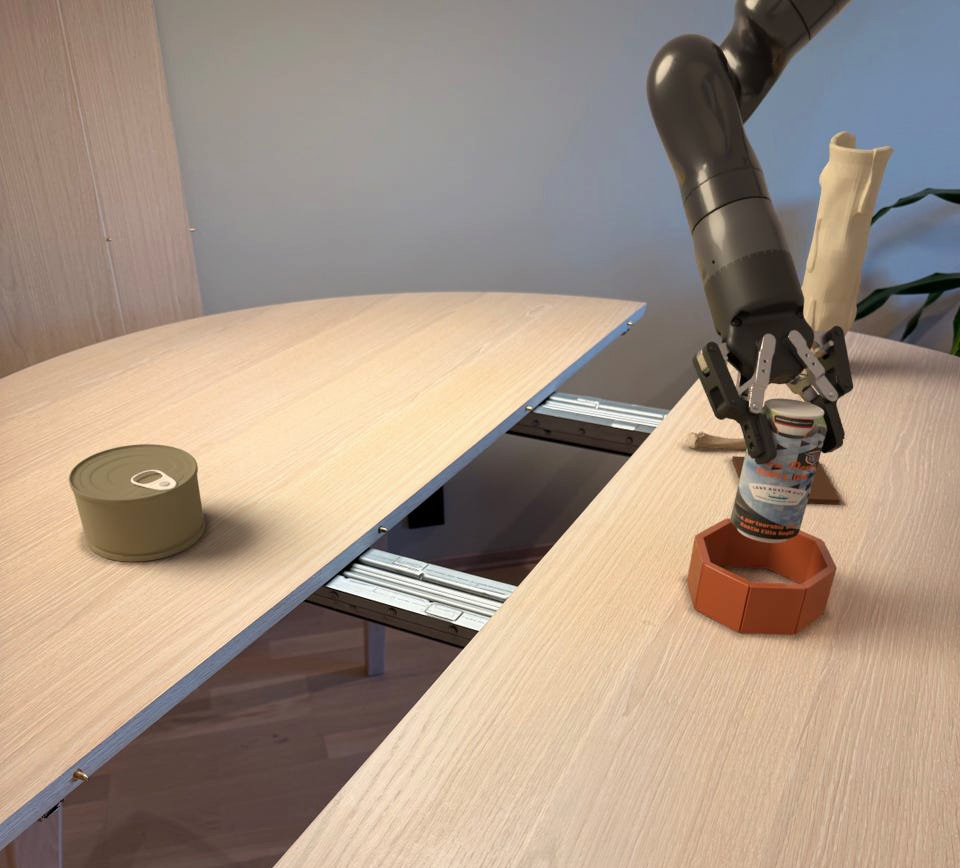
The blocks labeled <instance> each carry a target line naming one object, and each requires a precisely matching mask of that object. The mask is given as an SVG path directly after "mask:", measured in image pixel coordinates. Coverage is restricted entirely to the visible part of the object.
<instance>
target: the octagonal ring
mask: <svg viewBox="0 0 960 868" xmlns="http://www.w3.org/2000/svg"><path fill="white" fill-rule="evenodd" d="M693 538H694V539H693V544H692V550H691V556H690V561H689V567H688V572H687V579H686V582H687V585H688V589H689V594H690V598H691V601H692V605H693V606H692V607H693V609H694V610H695V611H696V612H698V613H700V614H702V615H704V616H705V617H708V618H710V619H712V620H714V621H716V622H718V623H719V624H721V625H723V626H725V627H727V628H729V629H731V630H733V631H734V632H736V633H740V634H751V635H752V634H755V635H756V634H757V635H780V636H781V635H783V636H794V635H797V634H799V633H800V632H801V631H803V630H804V629H806V628H807V627H808V626H810V625H811V624H812V623H814V622H816V621H817V620H818V619H820V618H821V617H823V616H824V614H825V612H826V608H827V604H828V602H829V601H828V600H829V598H830V595H831V589H832V587H833V582H834V579H835V576H836V572H837V567H838V566H837V565H836V564H835V561H834V559H833V557H832V554H831V553H830V550H829V549H828V547H827V544H826V543H825V541H824V540H823V539H822V538H819V537H817V536H815V535H813V534H810V533H807V532H805V531H803V530H801V529H800V531H799V533H798V535H796V536H795V537H793V538H789V539H787V540H786V541H784V542H780V543H767V542H760V541H756V540H753V539H750V538H748V537H746V536H744V535H742V534H741V533H740V532H739V531H738V529H737V528H736V527H735V526H734V525H733V524H732V522H731V517H730V518H724V519H722V520H720V521H718V522H716V523H715V524H713V525H711V526H709V527H708V528H706V529H704V530H702V531H700V532H699V533H697V534H695V536H694V537H693ZM723 567H726V568H755V569H768V570H769V571H770V572H771V571H772V572H773V573H776V574H778V575H780V576H782V577H784V578H787V579H788V580H790V581H793V582H795V583H785V582H755V581H751V580H749V579H747V578H744V577H742V576H740V575H738V574H736V573H734V572H732V571H730V570H727V569H725V568H723Z"/></svg>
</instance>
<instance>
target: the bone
mask: <svg viewBox="0 0 960 868" xmlns="http://www.w3.org/2000/svg"><path fill="white" fill-rule="evenodd" d="M685 444H686V446H687V447H688V448H689V449H699V448H711V449H717V448H718V449H724V450H725V449H726V450H747V446H746V442H745V440H744V437H742V438H731V437H729V438H728V437H721V436H719V435H718V436H717V435H712V434H709V433H706V432H704V431H700V432H698V433H696V432H693V431H691V432H689V433H688V434H687V435H686V439H685Z"/></svg>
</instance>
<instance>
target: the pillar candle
mask: <svg viewBox="0 0 960 868" xmlns="http://www.w3.org/2000/svg"><path fill="white" fill-rule="evenodd" d="M893 153H894V148H893V147H892V146H889V145H885V146H881V147H874V148H873V149H858V148H857V136H856V135H855V134H852V133H850V132H849V131H846V130H843V131H839V132H838V133H835V135H833V136H832V137H831V139H830V142H829V157H828V158H829V159H828V162H827V163H826V164H825V166H824V167H823V169H822V171H821V172H820V175H819V178H818V182H819V183H818V184H819V186H820V189H821V190H820V197H819V204H818V207H817V213H816V220H815V224H814V231H813V235H812V240H811V245H810V248H809V252H808V256H807V260H806V265H805V272H804V277H803V281H802V285H801V289H802V292H803V295H804V311H803V313H804V318H805V320H806V321H807V323H808V324H809V325H810V326H811V328H812V329H813V331H828V330H830V329H831V328H833V327H834V326H839V327H841V328H842V329H843V331H844V337H845V338H846V336H847V334H848V333H849V331H850V330H851V328H852V325H853V324H854V322H855V320H856V317H857V312H858V308H857V307H858V306H857V298H858V294H859V290H860V286H861V283H862V275H861V274H862V269H863V264H864V260H865V256H866V252H867V248H868V240H869V235H870V229H871V224H872V220H873V216H874V211H875V207H876V204H877V200H878V196H879V192H880V189H881V185H882V183H883V178H884V174H885V171H886V167H887V164H888V162H889V160H890V158H891V156H892V155H893ZM811 352H812V353H814V350H813V348H812V347H811ZM801 374H802V375H805V376H807V372H806V370H805V369H804V370H803V372H802V373H801ZM801 374H800V375H801Z"/></svg>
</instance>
